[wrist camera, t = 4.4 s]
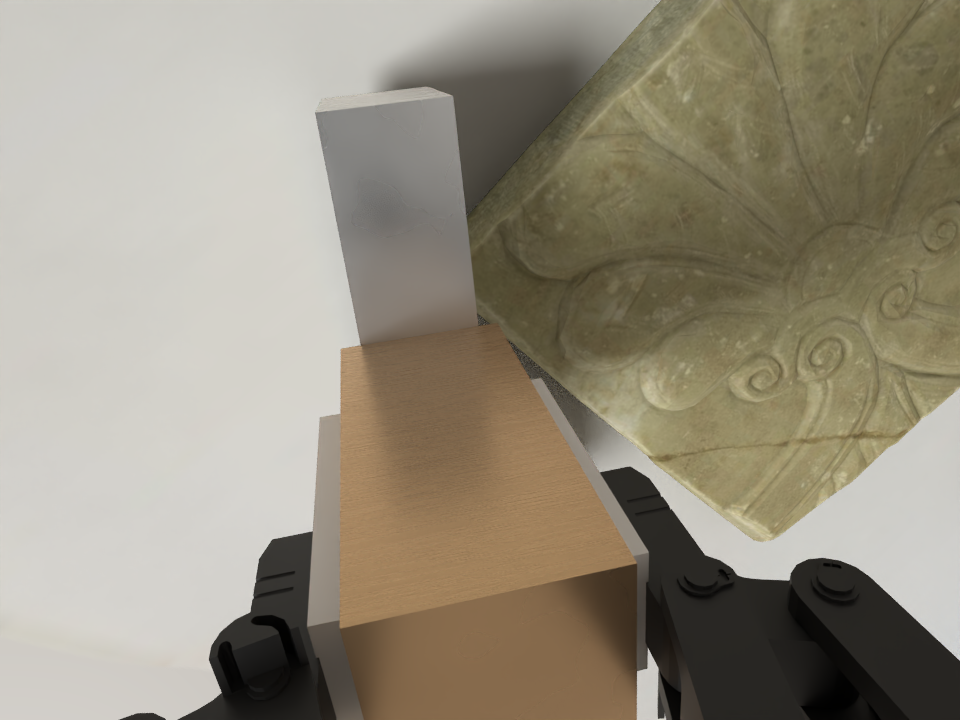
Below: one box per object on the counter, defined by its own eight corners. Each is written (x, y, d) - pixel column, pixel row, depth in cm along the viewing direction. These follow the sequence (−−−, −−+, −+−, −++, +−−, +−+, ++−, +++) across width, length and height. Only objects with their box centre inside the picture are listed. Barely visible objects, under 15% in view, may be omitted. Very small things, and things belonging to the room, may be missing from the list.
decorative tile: (731, 516, 32) (774, 566, 29) (424, 256, 24) (437, 288, 21) (1054, 229, 29) (1142, 251, 26) (826, -195, 20) (916, -239, 17)
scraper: (303, 100, 19) (223, 195, 6) (444, 84, 19) (638, 139, 7) (393, 543, 25) (442, 1014, 13) (494, 522, 26) (635, 956, 13)
